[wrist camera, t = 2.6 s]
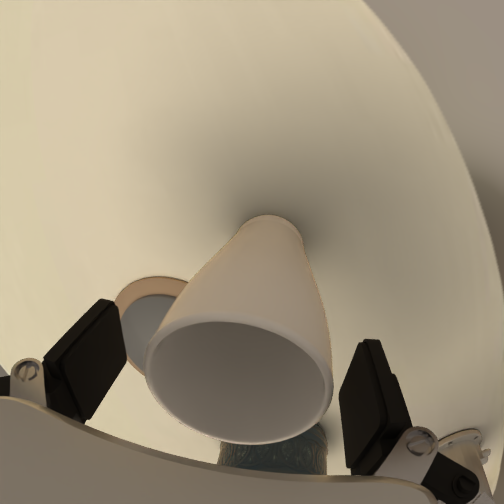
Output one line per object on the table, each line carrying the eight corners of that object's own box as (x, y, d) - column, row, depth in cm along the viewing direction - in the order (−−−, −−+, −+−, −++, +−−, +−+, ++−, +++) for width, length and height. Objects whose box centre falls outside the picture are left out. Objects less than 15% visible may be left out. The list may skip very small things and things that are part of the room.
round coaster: (251, 290, 25) (249, 297, 23) (239, 401, 30) (237, 408, 28) (104, 265, 26) (98, 270, 25) (123, 373, 31) (118, 379, 30)
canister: (315, 400, 28) (313, 555, 12) (334, 454, 32) (336, 567, 16) (206, 415, 31) (164, 543, 15) (245, 465, 35) (224, 567, 19)
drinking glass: (241, 190, 22) (153, 276, 8) (326, 222, 22) (376, 354, 8) (215, 268, 24) (134, 410, 10) (293, 297, 24) (286, 460, 10)
